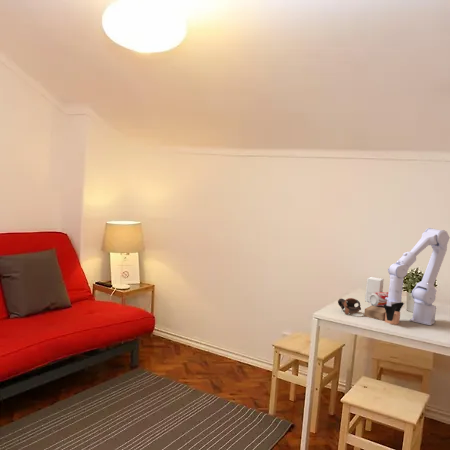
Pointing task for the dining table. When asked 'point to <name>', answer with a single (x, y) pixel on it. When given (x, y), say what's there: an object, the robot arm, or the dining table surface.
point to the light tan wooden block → (375, 313)
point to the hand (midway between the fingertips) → (392, 318)
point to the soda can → (378, 298)
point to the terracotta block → (394, 318)
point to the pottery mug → (349, 305)
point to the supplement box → (373, 286)
